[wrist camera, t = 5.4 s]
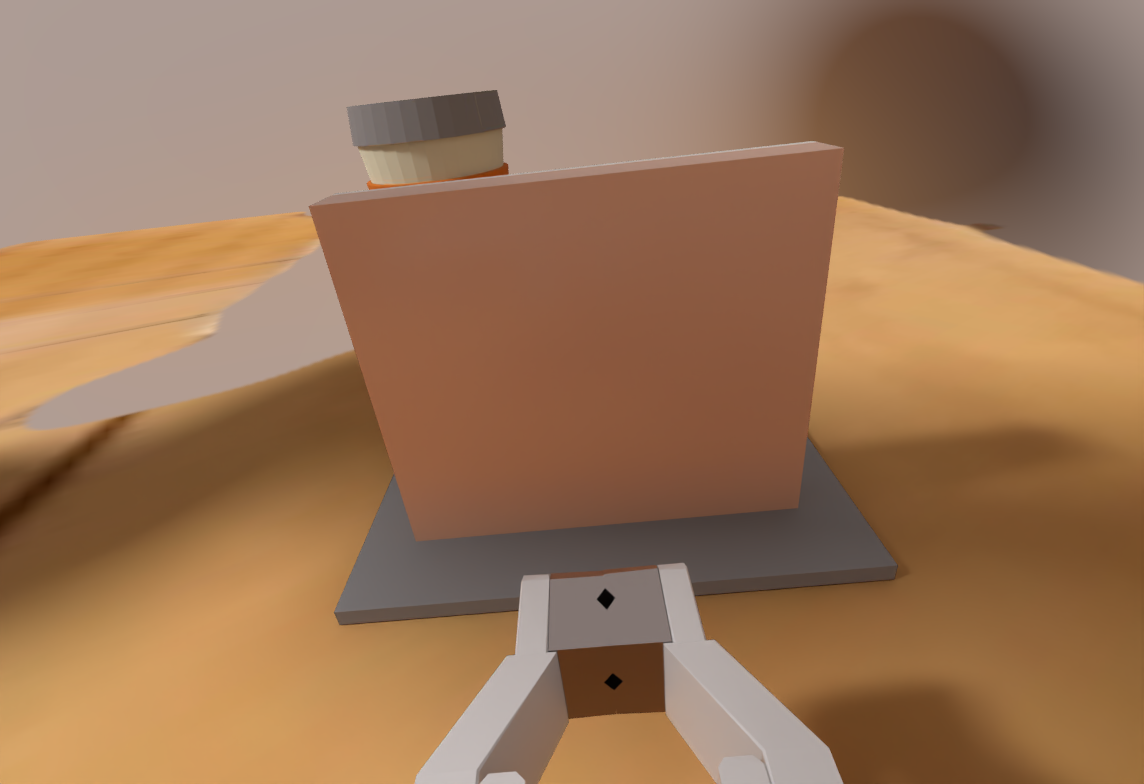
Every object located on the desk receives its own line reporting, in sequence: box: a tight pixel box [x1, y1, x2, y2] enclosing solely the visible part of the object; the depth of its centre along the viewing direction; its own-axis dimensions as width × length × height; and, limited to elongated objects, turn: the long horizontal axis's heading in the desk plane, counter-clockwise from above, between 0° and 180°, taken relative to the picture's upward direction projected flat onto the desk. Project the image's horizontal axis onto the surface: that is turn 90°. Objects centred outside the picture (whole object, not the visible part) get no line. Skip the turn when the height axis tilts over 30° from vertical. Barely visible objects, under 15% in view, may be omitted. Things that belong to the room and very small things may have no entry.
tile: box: [309, 141, 844, 541], centre depth 18 cm, size 2×14×12 cm, turn 91°
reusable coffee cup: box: [347, 90, 508, 190], centre depth 48 cm, size 12×12×15 cm
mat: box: [334, 437, 898, 625], centre depth 26 cm, size 19×18×1 cm
